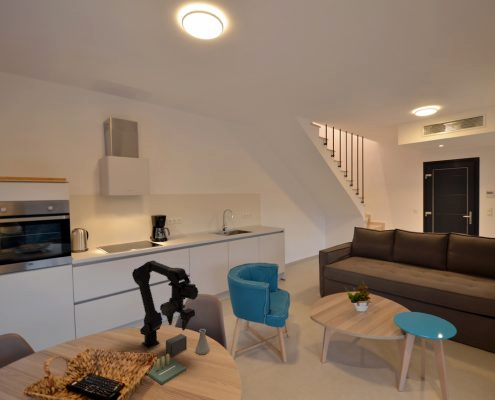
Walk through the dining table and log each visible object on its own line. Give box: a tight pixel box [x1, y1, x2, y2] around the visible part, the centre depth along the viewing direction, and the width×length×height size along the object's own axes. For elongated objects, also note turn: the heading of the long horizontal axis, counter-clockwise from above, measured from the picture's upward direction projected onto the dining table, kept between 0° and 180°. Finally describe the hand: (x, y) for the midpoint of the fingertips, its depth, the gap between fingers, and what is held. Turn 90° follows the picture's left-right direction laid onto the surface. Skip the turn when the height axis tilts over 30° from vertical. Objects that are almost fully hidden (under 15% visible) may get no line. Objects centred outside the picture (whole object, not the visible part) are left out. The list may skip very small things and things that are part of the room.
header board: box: [147, 354, 187, 385], centre depth 118 cm, size 16×12×6 cm
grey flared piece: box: [194, 328, 211, 355], centre depth 134 cm, size 7×7×10 cm
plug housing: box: [165, 333, 188, 357], centre depth 134 cm, size 4×9×6 cm, turn 142°
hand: (176, 327), depth 132 cm, fingers open, 9 cm apart
